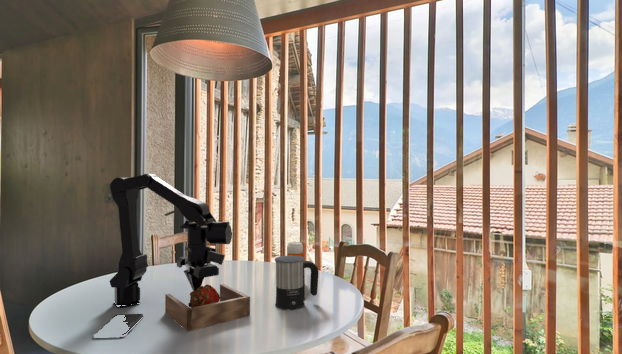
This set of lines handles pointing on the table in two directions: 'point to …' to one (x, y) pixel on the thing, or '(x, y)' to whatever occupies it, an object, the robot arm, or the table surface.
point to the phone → (131, 319)
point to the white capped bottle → (295, 249)
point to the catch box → (209, 309)
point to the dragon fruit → (203, 296)
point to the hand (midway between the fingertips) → (196, 294)
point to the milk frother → (293, 281)
